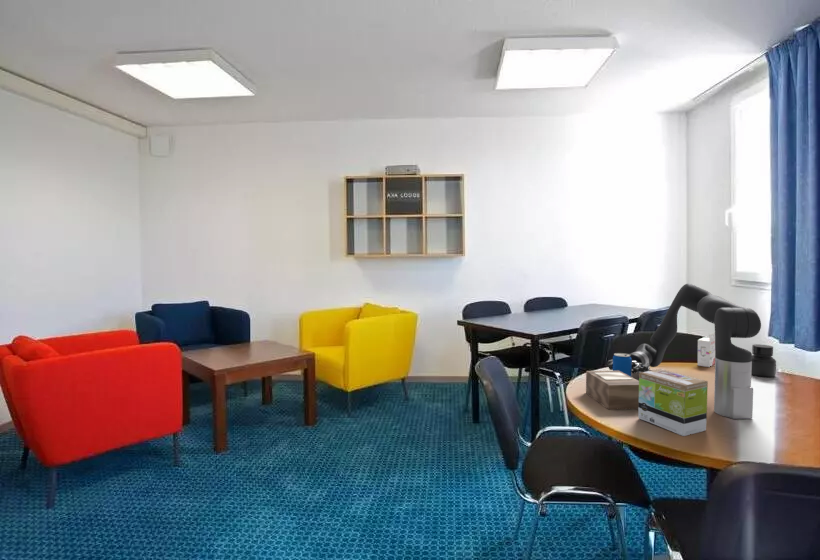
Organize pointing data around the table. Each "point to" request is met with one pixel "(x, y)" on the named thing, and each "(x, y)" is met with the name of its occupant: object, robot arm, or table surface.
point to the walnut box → (613, 389)
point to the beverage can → (622, 363)
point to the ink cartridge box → (706, 351)
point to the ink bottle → (763, 361)
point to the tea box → (673, 401)
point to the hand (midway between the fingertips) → (621, 369)
